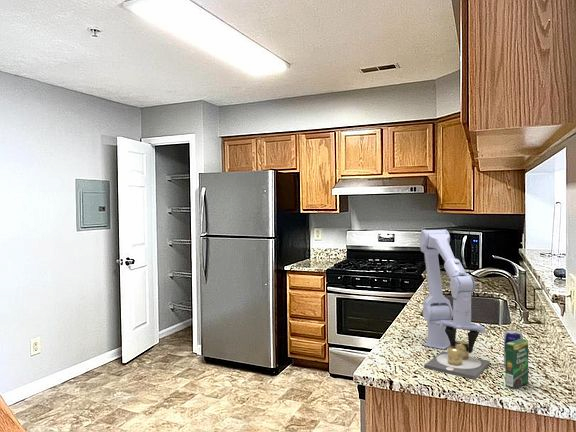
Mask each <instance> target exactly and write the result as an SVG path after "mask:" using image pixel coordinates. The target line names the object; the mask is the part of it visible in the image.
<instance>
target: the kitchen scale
mask: <svg viewBox="0 0 576 432" xmlns="http://www.w3.org/2000/svg"><path fill="white" fill-rule="evenodd" d="M490 364H491V360H488V359H483V358H477V357H474V356H471V355H469V359H467V360H462V365H461V366H453V365H450V364H448V351H443V350H442V351H441V352H440V353H438V354H437V355H435V356H434V357H433V358H432V359H430V360H429V361H427V362H426V363H424V364H423V368H424V369H427V370H431V371H436V372H441V373H445V374H450V375H452V376H458V377H462V378H466V379H470V380H471V379H472V380H477V378H478V377H479V376H480V375H481V374H482V373H483V372H484V370H486V369H487V367H489V365H490Z"/></svg>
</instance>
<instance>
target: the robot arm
mask: <svg viewBox="0 0 576 432" xmlns="http://www.w3.org/2000/svg"><path fill="white" fill-rule="evenodd" d="M418 239H419V247H420V252H421V253H423V254H424V261H425V270H426V278H427V286H428V294H429V295H428V297H426V299H425V300H424V301H422V316H423V319H424V320H425V321H426V323H427V341H426V342H424V343H423V346H425V347H430V348H435V349H440V350H446V349H448V347H450V346H454V342H455V341H457V340H456V337H457V336H456V335H457V330H463V331H468V332H467V339H468V343H469V346H468V352H469V354H472V353H473V349H474V345H475V343H476V340H477V338H478V336H479V334H485V333H486V326H482V325H479V324H475V323H472V293H474V291H475V288H476V282H475V279H474V276H472V275H470V274H469V273H467V272H466V270H465V268H464V267H463V265H462V262H461V261H460V259H458V258H455V257H456V256H454V253H453V251H452V248H451V245H450V242H451V235H450V232H449V231H448V230H447V229H422V230H421V232H420V234H419V237H418ZM439 255H440V256H441V258H442V260H443V261H444V262H445V263H444V264H443V267H444V270H445V271H446V274H447V276H448V278H449V279H450V282H449V287H450V291H451V298H452V300H453V301H452V302H453V303H452V305H451V301H450V299H448V298H447V297H446V296H444V292H443V284H442V276H441V268H440V261H439Z"/></svg>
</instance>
